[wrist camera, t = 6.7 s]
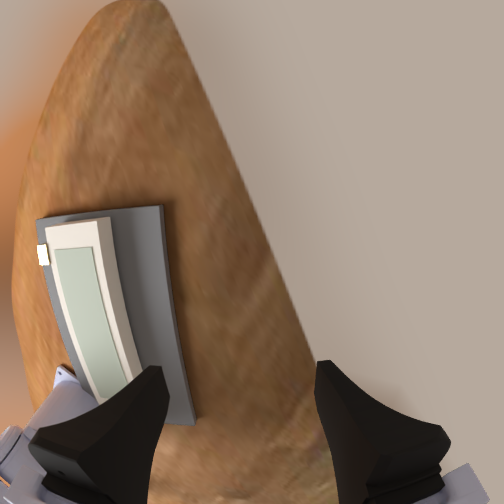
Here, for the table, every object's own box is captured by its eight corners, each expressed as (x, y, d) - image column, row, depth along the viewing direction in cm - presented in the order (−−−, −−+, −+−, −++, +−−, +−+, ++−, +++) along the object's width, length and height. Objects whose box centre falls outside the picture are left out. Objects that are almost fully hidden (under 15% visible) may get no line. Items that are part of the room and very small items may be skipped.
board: (196, 419, 25) (191, 444, 21) (96, 405, 25) (84, 425, 21) (163, 204, 19) (146, 209, 16) (42, 218, 19) (17, 225, 16)
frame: (155, 408, 23) (149, 424, 21) (111, 402, 23) (103, 416, 21) (110, 216, 18) (95, 221, 16) (59, 223, 18) (43, 228, 16)
